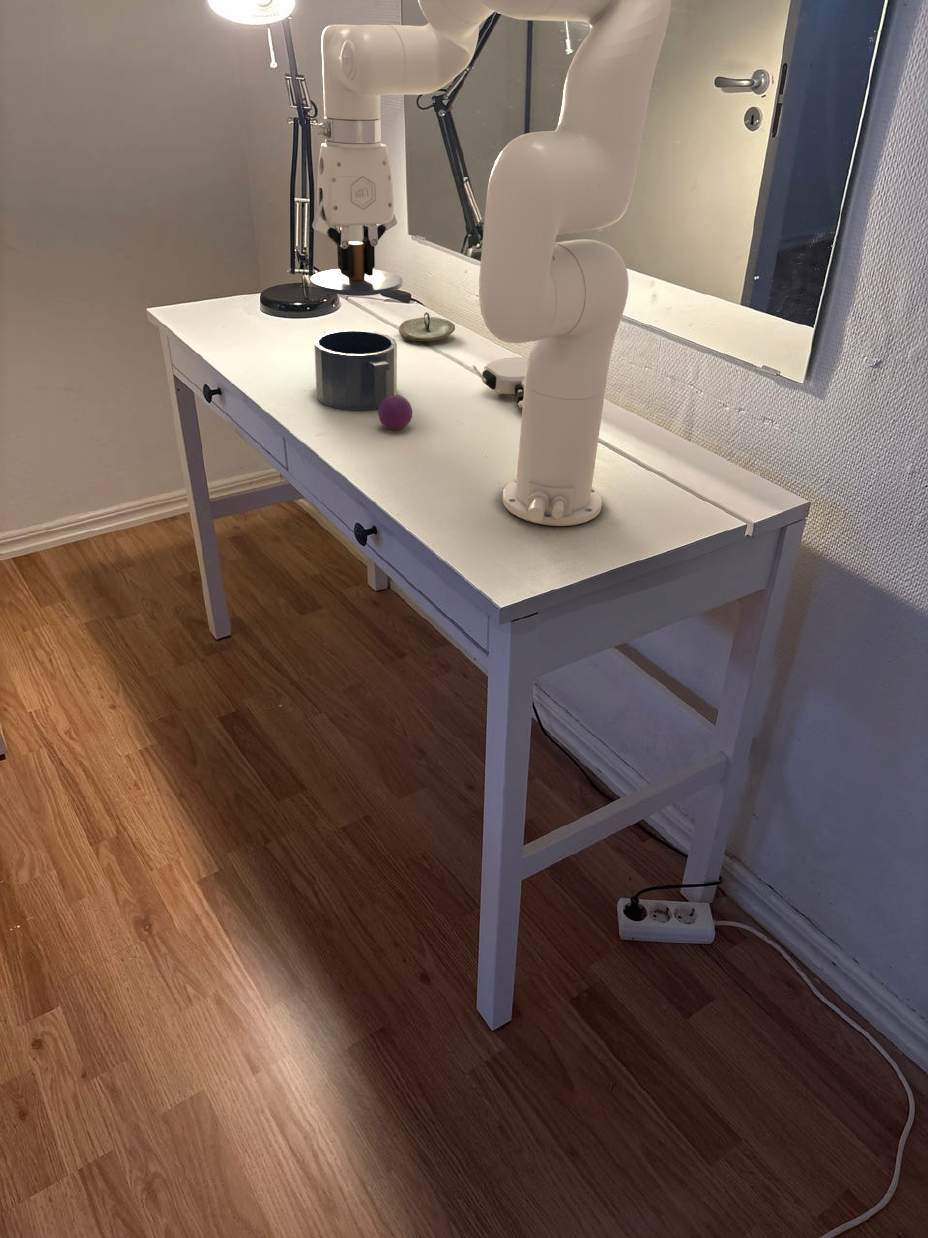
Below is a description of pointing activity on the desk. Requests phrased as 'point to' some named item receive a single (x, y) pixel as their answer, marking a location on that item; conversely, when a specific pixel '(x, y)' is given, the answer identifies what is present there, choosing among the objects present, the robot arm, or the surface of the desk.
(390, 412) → the purple ball
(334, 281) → the pot lid
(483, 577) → the desk surface
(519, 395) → the robot toy
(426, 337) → the lid
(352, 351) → the pot
